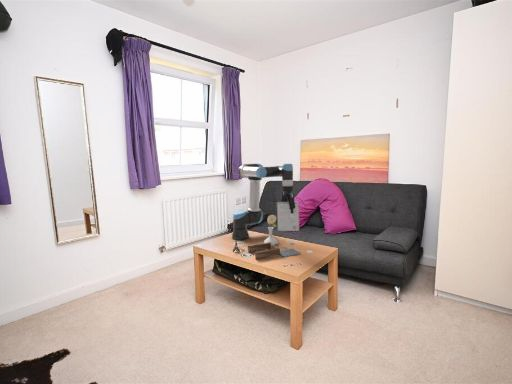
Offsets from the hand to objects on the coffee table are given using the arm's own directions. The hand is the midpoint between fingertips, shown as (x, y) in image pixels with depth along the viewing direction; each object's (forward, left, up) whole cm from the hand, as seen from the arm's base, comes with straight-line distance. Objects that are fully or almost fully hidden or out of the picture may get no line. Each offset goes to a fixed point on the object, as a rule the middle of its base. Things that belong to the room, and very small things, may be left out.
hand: (287, 216), depth 195 cm
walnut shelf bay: (-6, -17, -27) cm, 33 cm away
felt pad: (0, 0, -27) cm, 27 cm away
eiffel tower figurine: (-20, -33, -28) cm, 48 cm away
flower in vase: (-23, -3, -28) cm, 36 cm away
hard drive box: (0, 0, -10) cm, 10 cm away
